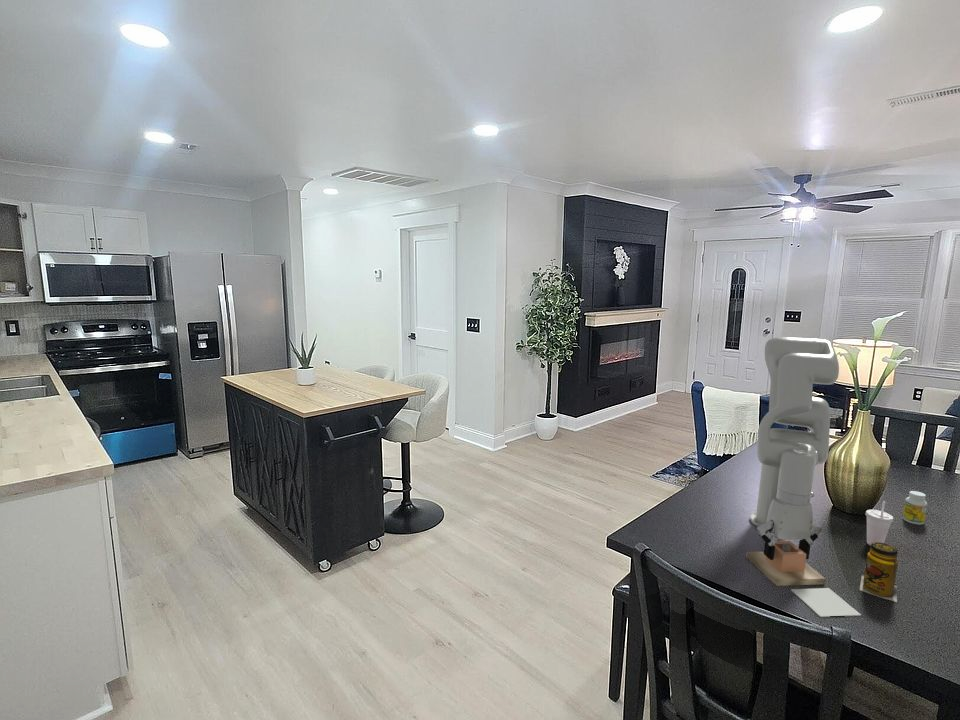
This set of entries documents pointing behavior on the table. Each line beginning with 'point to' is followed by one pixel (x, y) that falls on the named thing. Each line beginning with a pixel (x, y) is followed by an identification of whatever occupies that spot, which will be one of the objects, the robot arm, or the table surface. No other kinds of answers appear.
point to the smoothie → (877, 525)
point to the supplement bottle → (915, 508)
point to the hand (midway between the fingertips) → (785, 556)
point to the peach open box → (788, 558)
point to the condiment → (881, 571)
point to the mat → (825, 602)
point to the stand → (785, 578)
